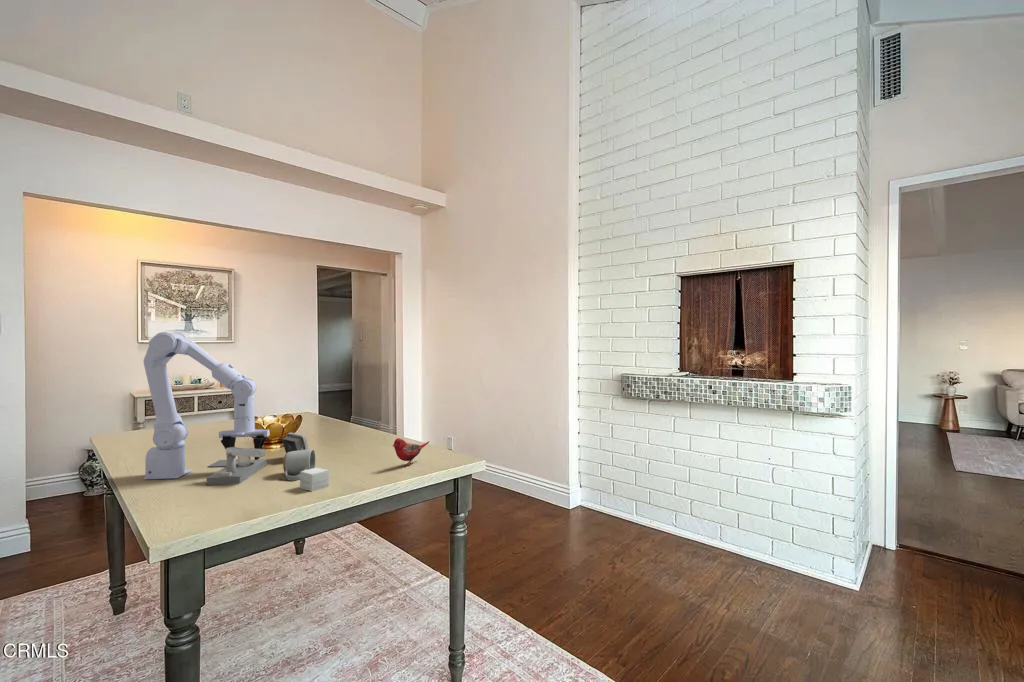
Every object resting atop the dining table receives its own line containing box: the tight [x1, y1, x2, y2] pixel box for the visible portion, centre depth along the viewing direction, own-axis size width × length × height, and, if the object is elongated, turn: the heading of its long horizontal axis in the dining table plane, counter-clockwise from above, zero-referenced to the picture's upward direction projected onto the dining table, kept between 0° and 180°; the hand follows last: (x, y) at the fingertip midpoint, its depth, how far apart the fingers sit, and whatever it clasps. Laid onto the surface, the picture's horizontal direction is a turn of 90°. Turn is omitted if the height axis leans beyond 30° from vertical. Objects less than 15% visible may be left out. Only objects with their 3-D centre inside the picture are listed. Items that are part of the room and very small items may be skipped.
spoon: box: [225, 446, 266, 458], centre depth 140 cm, size 3×12×2 cm, turn 78°
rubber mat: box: [207, 459, 238, 468], centre depth 158 cm, size 8×8×1 cm
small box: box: [299, 467, 330, 492], centre depth 134 cm, size 6×6×5 cm
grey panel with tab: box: [206, 455, 268, 485], centre depth 146 cm, size 9×20×7 cm, turn 7°
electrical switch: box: [281, 432, 310, 454], centre depth 165 cm, size 9×5×9 cm, turn 57°
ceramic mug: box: [282, 448, 316, 481], centre depth 145 cm, size 11×8×8 cm
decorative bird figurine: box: [392, 437, 430, 467], centre depth 159 cm, size 3×18×10 cm, turn 148°
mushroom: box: [237, 446, 253, 467], centre depth 150 cm, size 5×5×7 cm
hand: (244, 459), depth 150 cm, fingers open, 7 cm apart
